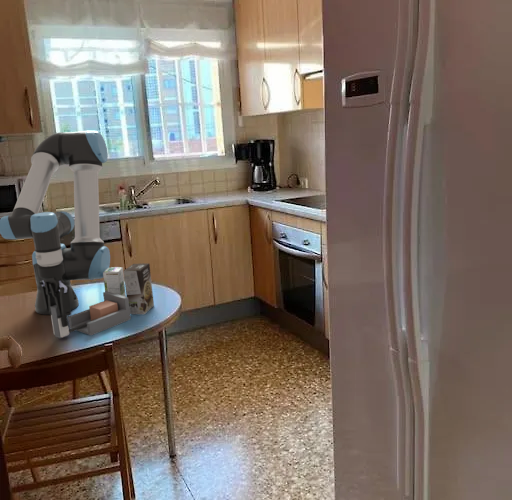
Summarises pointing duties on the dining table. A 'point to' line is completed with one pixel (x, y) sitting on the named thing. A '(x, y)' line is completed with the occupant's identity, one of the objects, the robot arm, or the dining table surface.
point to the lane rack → (104, 321)
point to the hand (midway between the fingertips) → (61, 334)
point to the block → (95, 313)
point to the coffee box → (139, 288)
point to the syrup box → (114, 280)
